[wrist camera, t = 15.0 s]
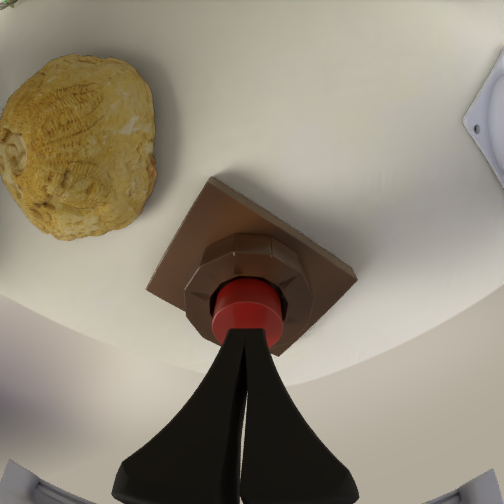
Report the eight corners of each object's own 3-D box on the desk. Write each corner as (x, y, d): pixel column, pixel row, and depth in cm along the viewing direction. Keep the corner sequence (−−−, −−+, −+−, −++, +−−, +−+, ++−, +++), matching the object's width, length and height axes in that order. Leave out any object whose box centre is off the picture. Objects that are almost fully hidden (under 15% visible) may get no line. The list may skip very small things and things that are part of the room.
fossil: (-26, 284, 9) (-61, 95, 5) (17, 237, 14) (-3, 92, 10) (163, 264, 11) (149, 14, 7) (168, 216, 17) (159, 48, 12)
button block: (352, 268, 15) (368, 300, 13) (277, 343, 18) (279, 379, 16) (211, 175, 13) (199, 193, 11) (151, 277, 16) (134, 310, 13)
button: (293, 297, 13) (297, 322, 12) (256, 335, 14) (256, 361, 13) (238, 265, 12) (235, 289, 11) (205, 309, 14) (199, 334, 12)
